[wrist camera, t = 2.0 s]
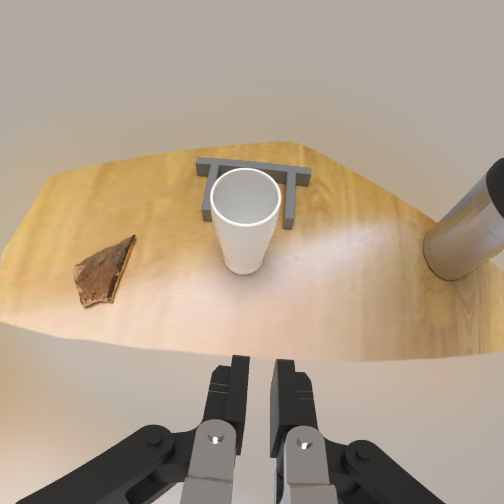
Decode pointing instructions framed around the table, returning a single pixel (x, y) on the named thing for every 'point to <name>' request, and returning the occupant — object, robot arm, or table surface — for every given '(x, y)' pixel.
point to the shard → (102, 273)
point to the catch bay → (275, 171)
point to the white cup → (244, 216)
